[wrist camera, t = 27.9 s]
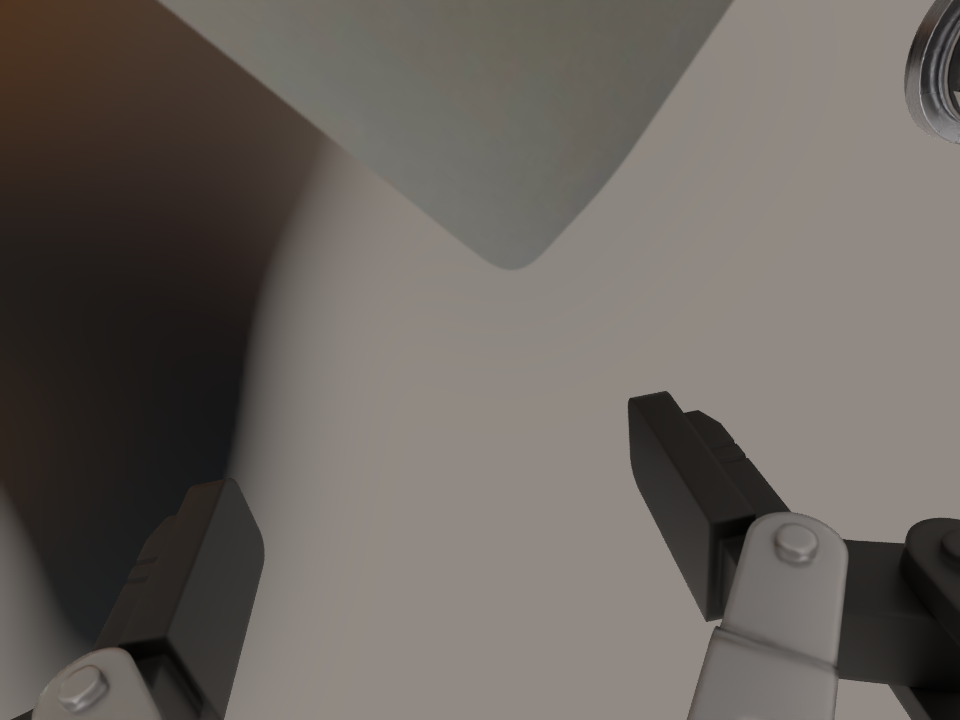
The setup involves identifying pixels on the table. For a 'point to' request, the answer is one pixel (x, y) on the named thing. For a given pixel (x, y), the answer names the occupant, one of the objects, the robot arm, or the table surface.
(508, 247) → the table surface
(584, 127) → the table surface
